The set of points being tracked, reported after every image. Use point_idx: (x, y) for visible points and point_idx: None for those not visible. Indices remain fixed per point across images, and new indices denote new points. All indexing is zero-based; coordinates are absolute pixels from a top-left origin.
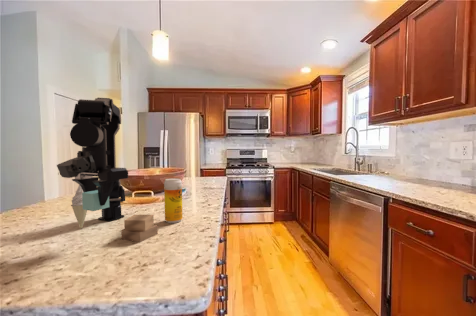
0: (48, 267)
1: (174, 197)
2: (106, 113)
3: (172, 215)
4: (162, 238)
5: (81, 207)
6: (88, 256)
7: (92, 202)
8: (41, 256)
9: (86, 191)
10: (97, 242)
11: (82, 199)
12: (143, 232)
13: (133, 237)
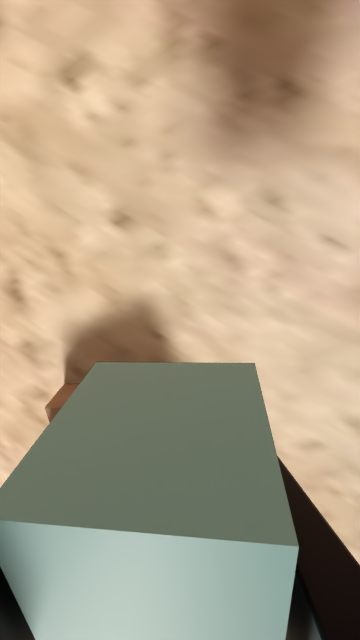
0: (134, 53)
1: None
2: None
3: None
4: (34, 431)
5: None
6: (100, 217)
7: (71, 414)
8: (302, 99)
9: (307, 616)
10: (212, 322)
11: (270, 438)
12: (51, 419)
13: None
